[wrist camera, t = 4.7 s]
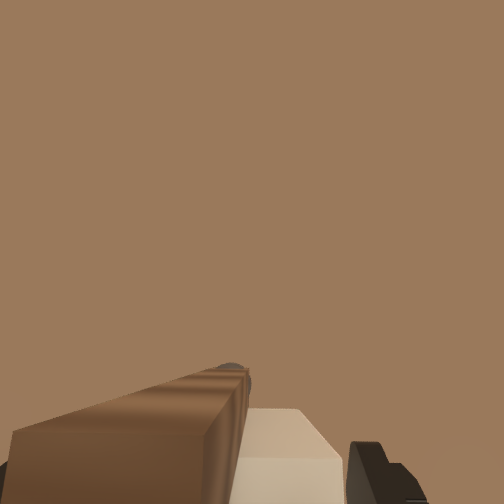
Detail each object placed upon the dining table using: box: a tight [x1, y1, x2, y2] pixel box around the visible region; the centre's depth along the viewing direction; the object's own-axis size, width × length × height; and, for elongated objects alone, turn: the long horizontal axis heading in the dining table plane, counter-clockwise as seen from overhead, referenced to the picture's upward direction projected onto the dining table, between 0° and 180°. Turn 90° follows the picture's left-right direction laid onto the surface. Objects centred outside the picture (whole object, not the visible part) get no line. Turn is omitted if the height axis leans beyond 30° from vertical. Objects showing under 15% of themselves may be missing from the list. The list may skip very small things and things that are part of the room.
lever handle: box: [0, 363, 251, 504], centre depth 18 cm, size 26×3×3 cm, turn 179°
